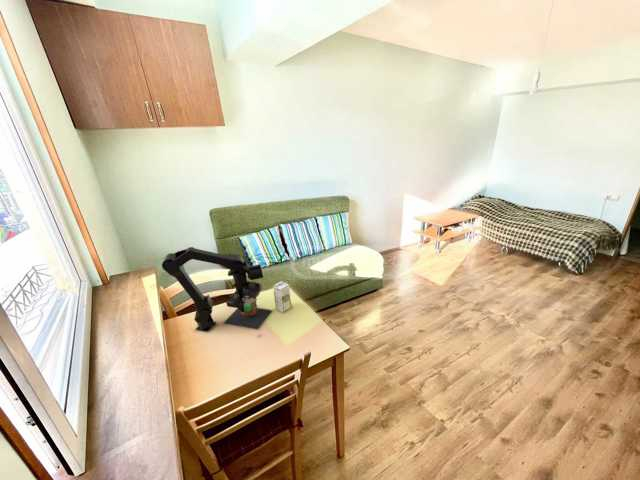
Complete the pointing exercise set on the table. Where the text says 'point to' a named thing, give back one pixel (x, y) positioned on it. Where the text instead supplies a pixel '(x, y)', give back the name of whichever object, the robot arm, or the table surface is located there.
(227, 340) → the table surface
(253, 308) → the food container
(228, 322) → the desk pad
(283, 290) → the syrup box
